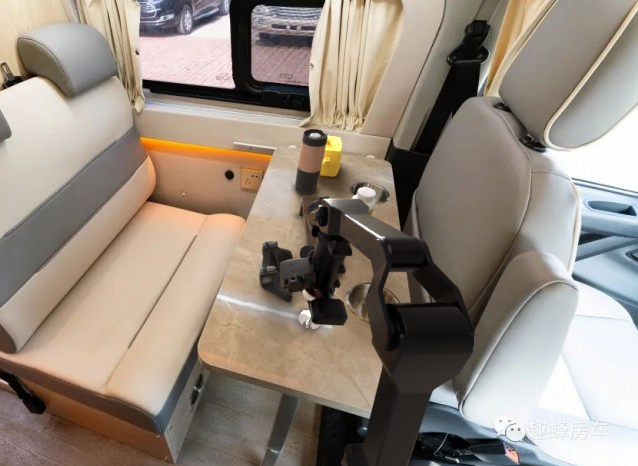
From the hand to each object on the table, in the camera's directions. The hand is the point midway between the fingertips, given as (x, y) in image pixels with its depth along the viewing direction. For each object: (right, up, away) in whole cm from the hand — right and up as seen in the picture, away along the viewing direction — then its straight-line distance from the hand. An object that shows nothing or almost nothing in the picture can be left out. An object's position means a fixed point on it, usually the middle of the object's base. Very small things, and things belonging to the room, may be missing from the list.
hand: (313, 306), depth 71 cm
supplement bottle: (+20, +18, +27) cm, 38 cm away
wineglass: (0, -4, +3) cm, 5 cm away
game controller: (-6, +4, +13) cm, 15 cm away
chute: (+7, +13, +22) cm, 27 cm away
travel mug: (+9, +31, +43) cm, 54 cm away
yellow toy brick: (+17, +40, +53) cm, 69 cm away
